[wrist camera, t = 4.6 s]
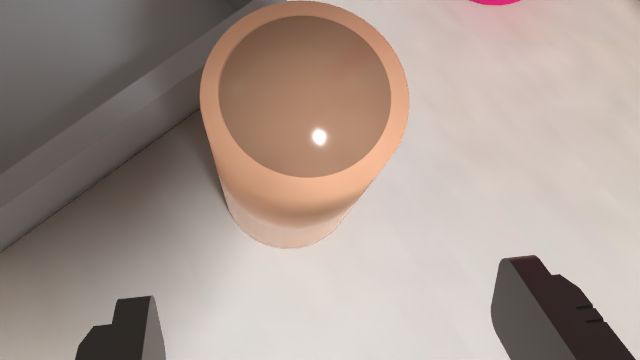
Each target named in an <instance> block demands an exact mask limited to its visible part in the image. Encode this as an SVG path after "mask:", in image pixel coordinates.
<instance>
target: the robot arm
mask: <svg viewBox="0 0 640 360" xmlns="http://www.w3.org/2000/svg"><path fill="white" fill-rule="evenodd" d="M491 317H492V322H493V326H494V329H495V332H496V334H497V335H498V337H499V339H500V341H501V343H502V345H503V346H504V348H505V350H506V352H507V354H508V355H509V357H510V359H511V360H636V359H635V358H634V357H633V356H632V354H631V353H630V352H629V351H628V349H627V348H626V347H625V345H624V344H623V343H622V342H621V340H620V339H619V338H618V337H617V335H616V334H615V333H614V331H613V330H612V329H611V328H610V326H609V325H608V324H607V322H604V321H603V317H602V316H601V315H600V314H599V312H598V311H597V310H596V308H593V305H592V303H591V302H590V301H589V300H588V298H587V297H586V296H585V294H584V293H583V292H582V291H581V289H580V288H579V287H577V286H576V285H574V284H573V283H571V282H570V281H569V280H567V279H566V278H564V277H563V276H561V275H560V274H558V275H551V274H550V273H549V271H548V270H547V269H546V267H545V266H544V265H543V263H542V262H541V261H540V259H539V258H538V257H537V256H535V255H530V256H521V257H512V258H504V259H502V260H501V261H500V264H499V268H498V273H497V278H496V284H495V289H494V294H493V299H492V305H491ZM75 360H166V356H165V346H164V341H163V336H162V331H161V327H160V322H159V317H158V313H157V308H156V303H155V299H154V297H153V296H144V297H135V298H126V299H118V300H117V303H116V306H115V311H114V316H113V321H112V324H109V325H101V326H93V328H92V329H91V330H90V332H89V333H88V334H87V336H86V337H85V338H84V339H83V341H82V342H81V343H80V345H79V346H78V350H77V354H76V358H75Z"/></svg>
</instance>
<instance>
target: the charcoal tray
mask: <svg viewBox="0 0 640 360" xmlns="http://www.w3.org/2000/svg"><path fill="white" fill-rule="evenodd" d="M282 2H287V0H0V253H1V252H2V251H4V250H5V249H6V248H8V247H9V246H10V245H12V244H13V243H15V242H16V241H17V240H19V239H20V238H22V237H23V236H24V235H26V234H27V233H28V232H30V231H31V230H33V229H34V228H35V227H37V226H38V225H39V224H41V223H42V222H44V221H45V220H46V219H48V218H49V217H51V216H52V215H53V214H55V213H56V212H57V211H59V210H60V209H62V208H63V207H64V206H66V205H67V204H68V203H70V202H71V201H73V200H74V199H75V198H77V197H78V196H80V195H81V194H82V193H84V192H85V191H86V190H88V189H89V188H91V187H92V186H93V185H95V184H96V183H97V182H99V181H100V180H102V179H103V178H104V177H106V176H107V175H109V174H110V173H111V172H113V171H114V170H115V169H117V168H118V167H120V166H121V165H122V164H124V163H125V162H126V161H128V160H129V159H131V158H132V157H133V156H135V155H136V154H138V153H139V152H140V151H142V150H143V149H144V148H146V147H147V146H149V145H150V144H151V143H153V142H154V141H155V140H157V139H158V138H160V137H161V136H162V135H164V134H165V133H167V132H168V131H169V130H171V129H172V128H173V127H175V126H176V125H178V124H179V123H180V122H182V121H183V120H184V119H186V118H187V117H189V116H190V115H191V114H193V113H194V112H196V111H197V110H198V109H200V108H201V107H200V84H201V79H202V74H203V70H204V67H205V64H206V62H207V59H208V57H209V55H210V53H211V51H212V49H213V47H214V46H215V45H216V43H217V42H218V40H219V39H220V38H221V36H222V35H223V34H224V33H225V32H226V31H227V30H228V29H229V28H230V27H231V26H233V25H234V24H235V23H236V22H238V21H239V20H240V19H242V18H243V17H245V16H247V15H248V14H250V13H252V12H254V11H256V10H258V9H261V8H263V7H266V6H269V5H273V4H276V3H282Z"/></svg>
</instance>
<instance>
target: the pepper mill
mask: <svg viewBox="0 0 640 360" xmlns="http://www.w3.org/2000/svg"><path fill="white" fill-rule="evenodd" d="M470 1H473V2H477V3H480V4H484V5H506V4H511V3H515V2H518V1H520V0H470Z"/></svg>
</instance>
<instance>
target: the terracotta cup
mask: <svg viewBox="0 0 640 360" xmlns="http://www.w3.org/2000/svg"><path fill="white" fill-rule="evenodd" d="M200 107H201V113H202V118H203V122H204V126H205V129H206V133H207V136H208V140H209V143H210V147H211V150H212V154H213V157H214V161H215V164H216V168H217V172H218V175H219V179H220V182H221V186H222V189H223V193H224V196H225V200H226V203H227V206H228V209H229V211H230V213H231V215H232V217H233V219H234V220H235V221H236V223H237V224H238V226H239V227H240V228H241V229H242V230H243V231H244V232H245V233H247V234H248V235H249V236H250V237H252V238H253V239H255V240H257V241H258V242H261V243H263V244H265V245H268V246H272V247H276V248H282V249H294V248H301V247H306V246H309V245H312V244H314V243H317V242H318V241H320V240H322V239H324V238H325V237H327V236H328V235H329V234H330V233H332V232H333V231H334V230H335V229H336V228H337V226H338V225H339V224H340V223H341V221H342V220H343V219H344V217H345V216H346V215H347V214H348V212H349V211H350V210H351V208H352V207H353V206H354V204H355V203H356V202H357V201H358V199H359V198H360V197H361V195H362V194H363V193H364V192H365V190H366V189H367V188H368V186H369V185H370V184H371V182H372V181H373V180H374V179H375V177H376V176H377V175H378V173H379V172H380V171H381V169H382V168H383V167H384V166H385V164H386V163H387V162H388V160H389V159H390V158H391V157H392V155H393V154H394V152H395V150H396V149H397V147H398V145H399V144H400V141H401V139H402V137H403V134H404V132H405V128H406V124H407V120H408V113H409V91H408V85H407V80H406V77H405V73H404V70H403V67H402V65H401V63H400V61H399V59H398V57H397V55H396V53H395V52H394V50H393V49H392V47H391V46H390V44H389V43H388V42H387V41H386V39H385V38H384V37H383V36H382V35H381V34H380V33H379V32H378V31H377V30H376V29H375V28H374V27H373V26H371V25H370V24H369V23H367V22H366V21H365V20H363V19H362V18H360V17H358V16H357V15H355V14H353V13H351V12H349V11H347V10H344V9H342V8H340V7H336V6H333V5H330V4H326V3H320V2H315V1H288V2H282V3H276V4H273V5H269V6H266V7H263V8H261V9H258V10H256V11H254V12H252V13H250V14H248V15H247V16H245V17H243V18H242V19H240V20H239V21H238V22H236V23H235V24H234V25H233V26H231V27H230V28H229V29H228V30H227V31H226V32H225V33H224V34H223V35H222V36H221V38H220V39H219V40H218V42H217V43H216V45H215V46H214V47H213V49H212V51H211V53H210V55H209V57H208V59H207V62H206V64H205V67H204V70H203V74H202V79H201V84H200Z"/></svg>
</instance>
